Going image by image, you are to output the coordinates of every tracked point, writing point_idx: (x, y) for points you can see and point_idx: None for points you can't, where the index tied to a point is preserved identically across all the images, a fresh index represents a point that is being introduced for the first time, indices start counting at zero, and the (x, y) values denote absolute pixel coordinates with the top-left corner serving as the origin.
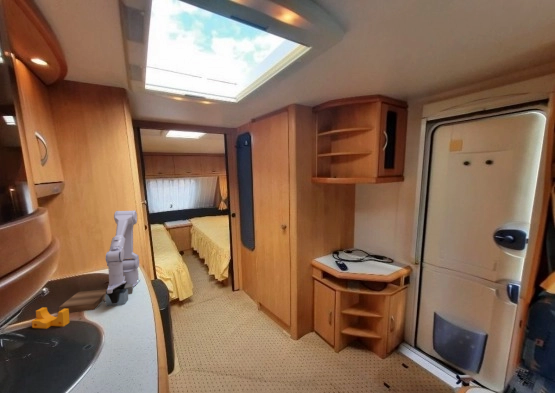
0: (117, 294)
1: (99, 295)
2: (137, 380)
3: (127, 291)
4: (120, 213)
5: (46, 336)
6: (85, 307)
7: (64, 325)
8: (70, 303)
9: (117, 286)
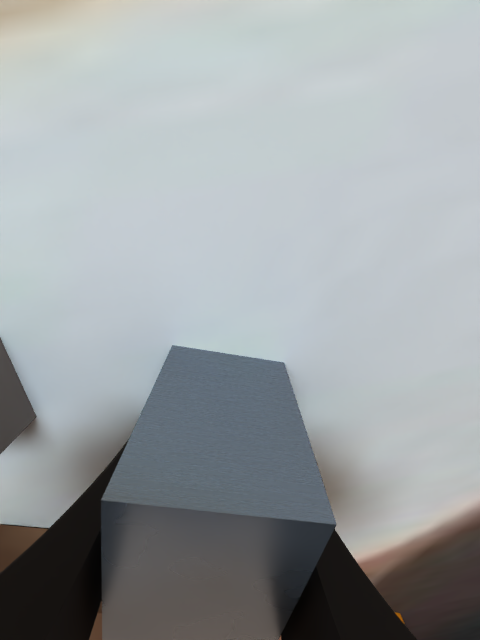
0: (405, 627)
1: (96, 629)
2: None
3: (147, 449)
4: None
5: (457, 635)
6: None
7: (397, 615)
8: None
9: None
